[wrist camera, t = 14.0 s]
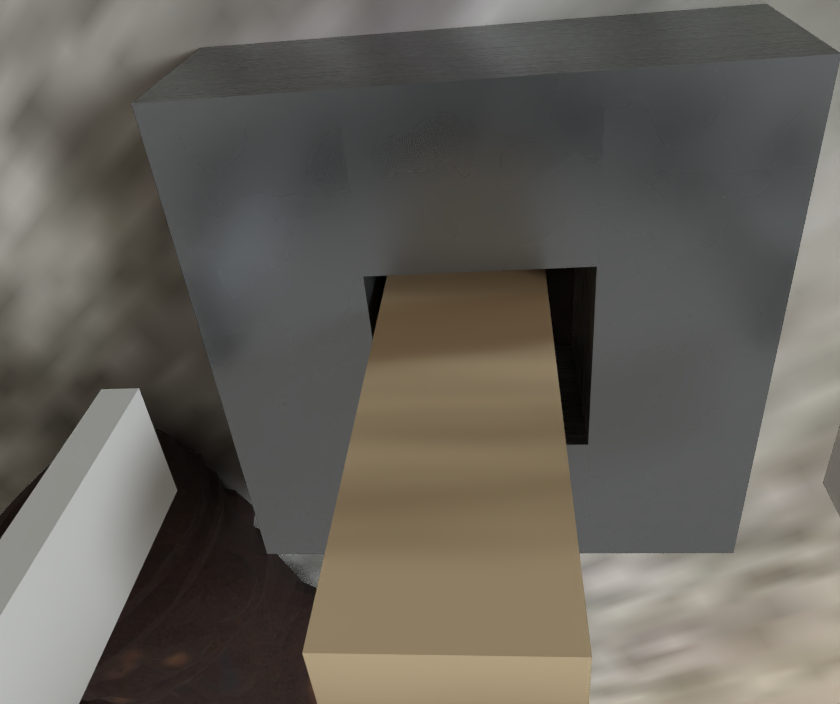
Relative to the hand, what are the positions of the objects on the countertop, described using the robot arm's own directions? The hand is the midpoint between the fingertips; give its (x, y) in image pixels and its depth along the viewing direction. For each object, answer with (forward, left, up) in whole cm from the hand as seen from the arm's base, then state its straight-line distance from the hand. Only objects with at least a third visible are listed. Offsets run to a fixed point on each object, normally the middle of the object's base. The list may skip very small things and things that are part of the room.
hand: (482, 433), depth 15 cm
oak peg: (0, 0, -6) cm, 6 cm away
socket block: (0, 0, -6) cm, 6 cm away
